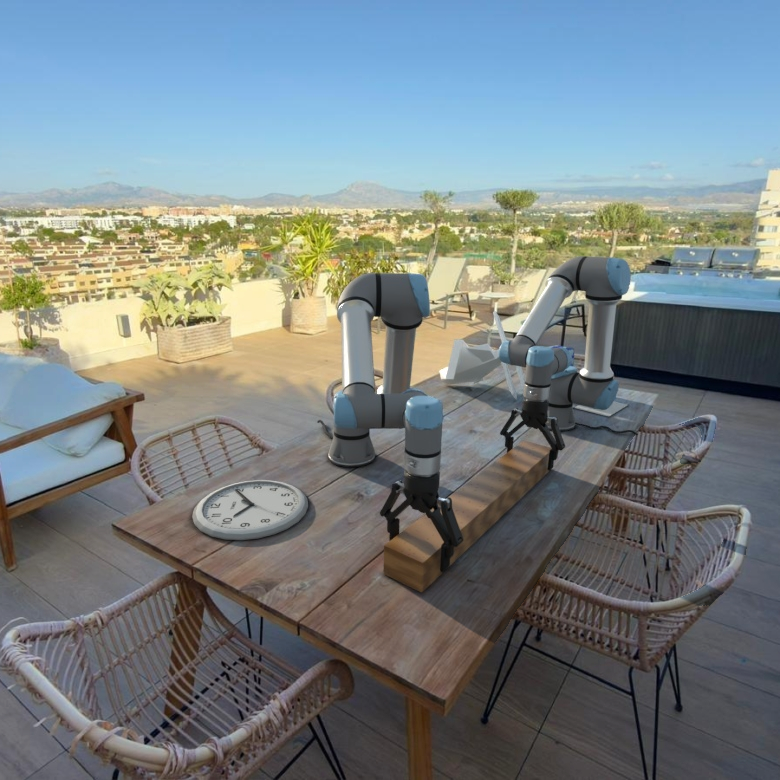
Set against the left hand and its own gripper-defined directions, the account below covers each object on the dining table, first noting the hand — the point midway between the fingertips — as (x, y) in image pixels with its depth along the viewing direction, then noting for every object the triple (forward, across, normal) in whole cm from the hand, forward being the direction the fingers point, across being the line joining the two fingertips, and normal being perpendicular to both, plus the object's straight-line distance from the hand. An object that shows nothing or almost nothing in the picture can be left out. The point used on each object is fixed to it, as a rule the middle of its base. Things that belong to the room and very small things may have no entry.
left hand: (418, 557), depth 116 cm
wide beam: (+3, 0, +31) cm, 31 cm away
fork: (+3, -58, +95) cm, 112 cm away
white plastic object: (+3, -51, +127) cm, 137 cm away
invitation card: (+3, 0, +143) cm, 143 cm away
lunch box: (+3, -26, +152) cm, 154 cm away
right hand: (0, 0, +62) cm, 62 cm away
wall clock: (+3, -50, -6) cm, 50 cm away
